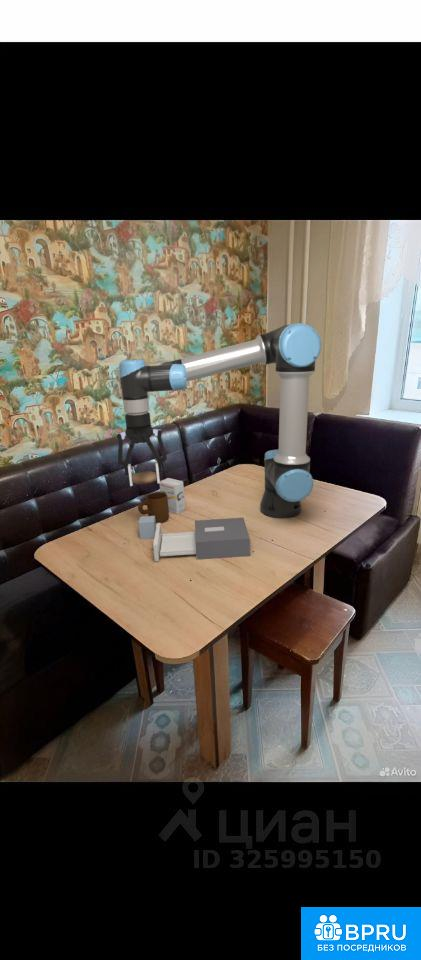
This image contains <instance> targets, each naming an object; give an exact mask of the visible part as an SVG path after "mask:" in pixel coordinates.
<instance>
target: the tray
mask: <svg viewBox="0 0 421 960" xmlns="http://www.w3.org/2000/svg"><path fill="white" fill-rule="evenodd" d="M152 551H153V554H154V555H153V556H154V562H160V557H173V556H186V555H188V556H189V555H196V541H195V531H187V532H169V533H168V532H167V533H163V532H162V523H156V532H155V538H154V539H153V544H152Z"/></svg>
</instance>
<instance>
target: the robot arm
mask: <svg viewBox="0 0 421 960" xmlns="http://www.w3.org/2000/svg"><path fill="white" fill-rule="evenodd" d="M320 336H321V335H319V333H318V331H317V330H316V329H315V328H314V327H313V326H311V325H309V324H306V323H299V322H297V323H296V322H295V323H292V324H286V325H283V326H280V327H278V328H275V329H274V330H271V331H269V332H265V333H261V334H258V335H257V336H256V338H255V339H251V340H248V341H244V342H240V343H237V344H236V343H235V344H233V345H228V346H224V347H221V348H217V349H213V350H210V351H206V352H205V351H204V352H202V353H197V354H194V355H191V356H187V357H183V358H180V359H174V360H171V361H165V362H162V363H160V364H159V365H146V363H145V360H144V359H140V358H139V359H136V358H135V359H124V360H121V361H120V362H119V365H118V366H119V367H118V368H119V380H120V387H121V393H122V402H123V411H124V413H125V414H124V417H125V418H124V419H125V427H126V428H125V431H119V432H117V433H116V438H117V440H118V450H117V465H118V466H123V467H124V475H125V476H126V477H128V478H129V486H130V487H132V486H133V485H134V483H133V482H132V475H133V474H132V467H131V466H132V465H131V463H129V462H130V460H131V457H132V456H131V455H132V454H133V453H132V452H133V451H134V446H135V445H136V444H138V445H139V444H146V445H147V446H148V448H149V450H150V451H151V454H152V455H153V456H154V458H155V460H156V461H155V462H154V463H155V472H156V473H157V480H156V481H157V484H159V483H160V481H161V479H160V473H163V464H162V463H163V462H166V461H167V460H168V457H167V453H166V450H165V446H164V442H163V438H162V428H158V429H155V428H153V427H152V422H151V414H150V412H149V411H150V402H149V394H148V393H152V392H169V391H171V392H172V391H173V392H174V391H175V392H177V391H183V390H186V389H187V387H188V384H187V383H188V382H190V381H195V380H199V379H202V378H207V377H209V376H214V375H215V376H216V375H219V374H223V373H227V372H230V371H235V370H238V369H243V368H246V367H250V366H254V365H258V364H261V365H263V366H267V365H271V364H275V373H276V374H277V375H278V376H279V378H280V380H279V382H280V387H279V418H278V419H279V422H278V423H279V424H278V426H279V427H278V449H272V450H268V451H266V452H265V453H264V459H263V461H264V491H263V494H262V498H261V500H260V504H259V506H260V507H259V509H260V511H259V512H261V514H262V515H265V516H268V517H270V518H276V519H287V518H288V519H289V518H292V517H295V516H298V515H299V514H301V512H302V503H301V501H303V500H305V499H306V498H307V497H308V496H309V495H310V494H311V492H312V491H313V488H314V479H313V476H312V474H311V473H310V469H311V457H310V456H308V455H307V453H306V451H307V429H308V411H309V409H308V408H309V394H310V393H309V392H310V390H309V389H310V377H311V376H312V375H313V374H314V373H315V371H316V360H317V359H318V357H319V356H320V353H321V350H322V342H321V341H322V340H321V337H320ZM153 434H154V436H155V437H157V442H158V445H159V450H160V453H161V456H160V454H159V453H158V451H157V449H156V448H155V446H154V444H153V442H152V440H151V439H150V438H151V436H152V435H153ZM126 436H127V437H128V438H129V440H130V442H129V445H128V448H127V451H126V455H125V458H124V459H123V451H124V450H123V448H124V445H123V444H124V440H125V437H126Z"/></svg>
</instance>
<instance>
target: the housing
mask: <svg viewBox="0 0 421 960" xmlns="http://www.w3.org/2000/svg"><path fill="white" fill-rule="evenodd" d="M245 521H246V520H245V518H244V517H235V518H234V517H232V518H231V517H228V518H227V517H226V518H218V519H216V518H215V519H213V518H212V519H199V520H194V532H195V541H196V554H195V555H196V560H197V561H198V560H210V559H223V558H227V559H228V558H239V557H240V558H241V557H250V556H251V537H250V535H249V532H248V528H247V525H246V522H245Z"/></svg>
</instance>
